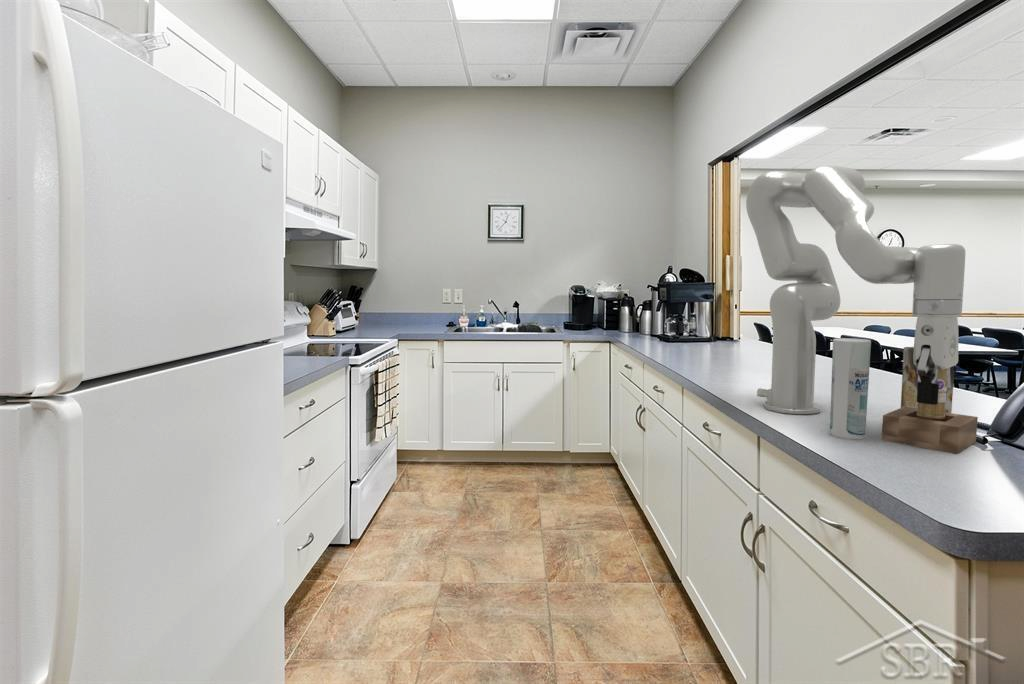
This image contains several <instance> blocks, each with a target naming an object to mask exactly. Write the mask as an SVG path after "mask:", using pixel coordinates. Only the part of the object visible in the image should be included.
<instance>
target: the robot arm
mask: <svg viewBox="0 0 1024 684" xmlns="http://www.w3.org/2000/svg"><path fill="white" fill-rule="evenodd" d="M865 188H866V181H865V178H864V177H863V175H862V173H861V172H860V171H859V170H857V169H854V168H851V167H845V166H844V167H843V166H835V165H821V166H817V167H815V168H813V169H811V170H809V171H808V172H807V173H803V172H794V171H788V170H787V171H786V170H785V171H784V170H773V171H767V172H764V173H762V174H760V175H758V176H757V177H756V178H755V179H754V180H753V182H752V183H751V185H750V186H749V189H748V191H747V194H746V201H745V202H746V203H745V204H746V205H745V209H746V213H747V216H748V219H749V222H750V224H751V226H752V229H753V231H754V233H755V237H756V241H757V245H758V248H759V250H760V251H759V252H760V255H761V258H762V262H763V264H764V268H765V271H766V273H767V275H768V277H769V278H771V279H773V280H774V281H781V282H782V281H783V282H792V283H786V284H783V285H781V286H779V287H778V288H776V289H775V290H774V291H773V293H772V294H771V296H770V298H769V299H770V300H769V312H770V316H771V323H772V325H771V326H772V355H771V356H772V357H771V358H772V359H771V361H772V362H771V384H770V385H771V386H770V388H769V389H766V388H761V387H759V388H758V389H757V390H756V393H757V394H756V396H757V397H760V398H761V397H762V398H763V397H764V398H765V399H766V401H764V402H763V407H764V408H765V409H766V410H769V411H772V412H776V413H781V414H790V415H812V414H813V415H814V414H819V413H820V412H821V406H820V405H819V404H817V403H815V401H814V399H815V377H816V376H815V375H816V372H815V371H816V356H817V355H816V352H817V348H816V347H817V338H816V333H815V329H814V327H813V324H812V322H814V321H817V322H818V321H823V320H824V321H825V320H829V319H830V318H833V317H834V316H835V315H836V314H837V313H838V311H839V310H840V306H841V294H840V291H839V287H838V284H837V282H836V278H835V275H834V272H833V269H832V266H831V263H830V259H829V258H828V255H827V254H826V252H825V250H823V249H822V248H821V247H819V246H818V245H816V244H813V243H804V242H803V243H801V242H799V241H798V239H797V237H796V234H795V231H794V228H793V224H792V222H791V220H790V219H789V218H788V216H787V215H786V214H785V213H784V211H782V207H783V208H784V207H785V208H800V209H801V208H802V209H804V208H805V209H806V208H814V209H815V210H816V211H817V212H818V213H819V214H820V215H821V217H823V219H824V220H825V221H826V222H827V223H828V224H829V226H830V227H831V228H832V229H833V230H834V231H835V234H834V236H835V244H836V247H837V250H838V253H839V255H840V256H841V257H842V259H843V261H845V263H846V264H847V265H848V266H849V267H850V269H851V270H852V271H854V273H855V274H856V275H858V277H860V278H861V279H862V280H864V281H865V282H868V283H870V284H873V285H874V284H876V285H879V284H880V285H883V284H884V285H887V284H890V285H891V284H892V285H904V284H913V293H912V311H911V312H912V314H911V316H912V317H916V323H915V330H914V340H913V341H914V343H913V347H914V352H913V361H914V365H915V366H917V370H918V373H919V374H918V387H917V402H918V403H924V404H932V405H936V404H938V391H939V384H937V377H938V370H939V367H940V369H946V368H947V378H948V368H949V367H952V366H954V367H955V366H956V365H957V364H958V363H959V321H958V318H962V317H963V301H964V300H963V299H964V285H965V270H966V269H965V268H966V248H965V247H964V246H963V245H961V244H959V243H957V244H956V243H944V244H943V243H942V244H940V243H939V244H930V245H923V246H921V247H913V246H908V247H907V246H886V245H885V244H883V243H882V241H881V240H880V239H878V237H877V236H876V235H875V234H874V233H873V232H872V231H871V229H870V228H869V226H868V224H867V223H868V222H869V220H870V219H871V218H872V217H873V215H874V214H875V213H874V212H875V206H874V204H873V203H872V202H871V201H870V200H869V199H868V198H867V197H866V195H864V191H865ZM793 281H794V282H793ZM920 356H921V357H920ZM929 364H934V365H935V367H928V365H929ZM931 371H933V375H932V373H931ZM946 397H947V391H946Z"/></svg>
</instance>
